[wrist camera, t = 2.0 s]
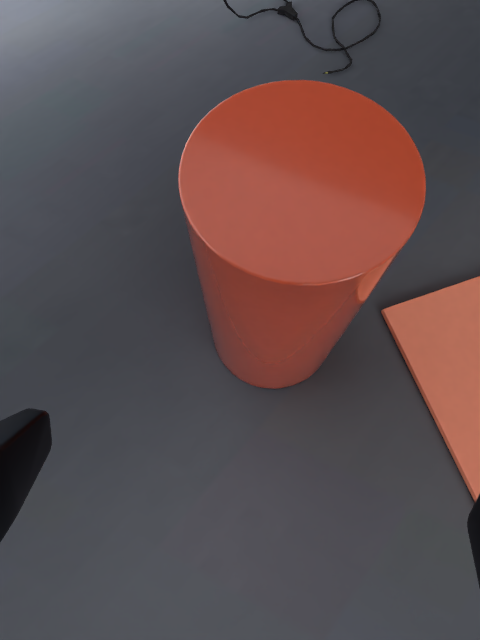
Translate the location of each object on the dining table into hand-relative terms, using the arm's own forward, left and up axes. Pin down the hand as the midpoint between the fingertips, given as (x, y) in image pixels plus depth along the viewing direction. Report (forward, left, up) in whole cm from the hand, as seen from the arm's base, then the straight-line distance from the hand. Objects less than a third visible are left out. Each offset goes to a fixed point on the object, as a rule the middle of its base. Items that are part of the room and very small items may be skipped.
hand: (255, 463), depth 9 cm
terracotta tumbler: (+6, -4, -13) cm, 15 cm away
